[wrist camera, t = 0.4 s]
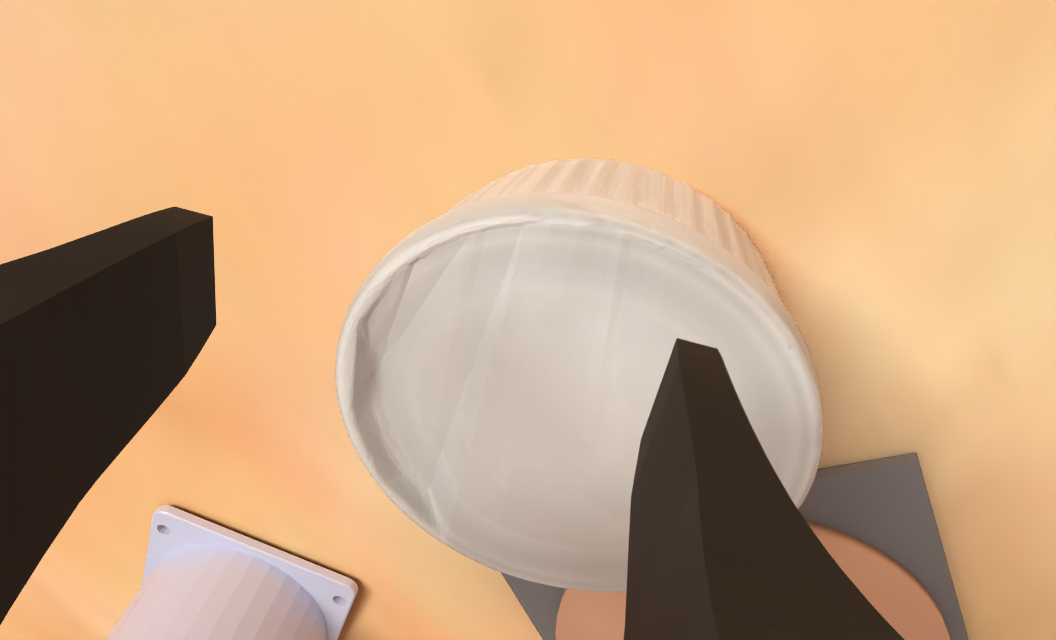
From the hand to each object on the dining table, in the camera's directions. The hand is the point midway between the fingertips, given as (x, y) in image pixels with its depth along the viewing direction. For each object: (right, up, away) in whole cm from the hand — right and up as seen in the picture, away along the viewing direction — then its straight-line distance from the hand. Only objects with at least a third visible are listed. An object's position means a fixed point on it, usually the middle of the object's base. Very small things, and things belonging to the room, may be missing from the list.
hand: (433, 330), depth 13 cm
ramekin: (+3, +1, +11) cm, 12 cm away
